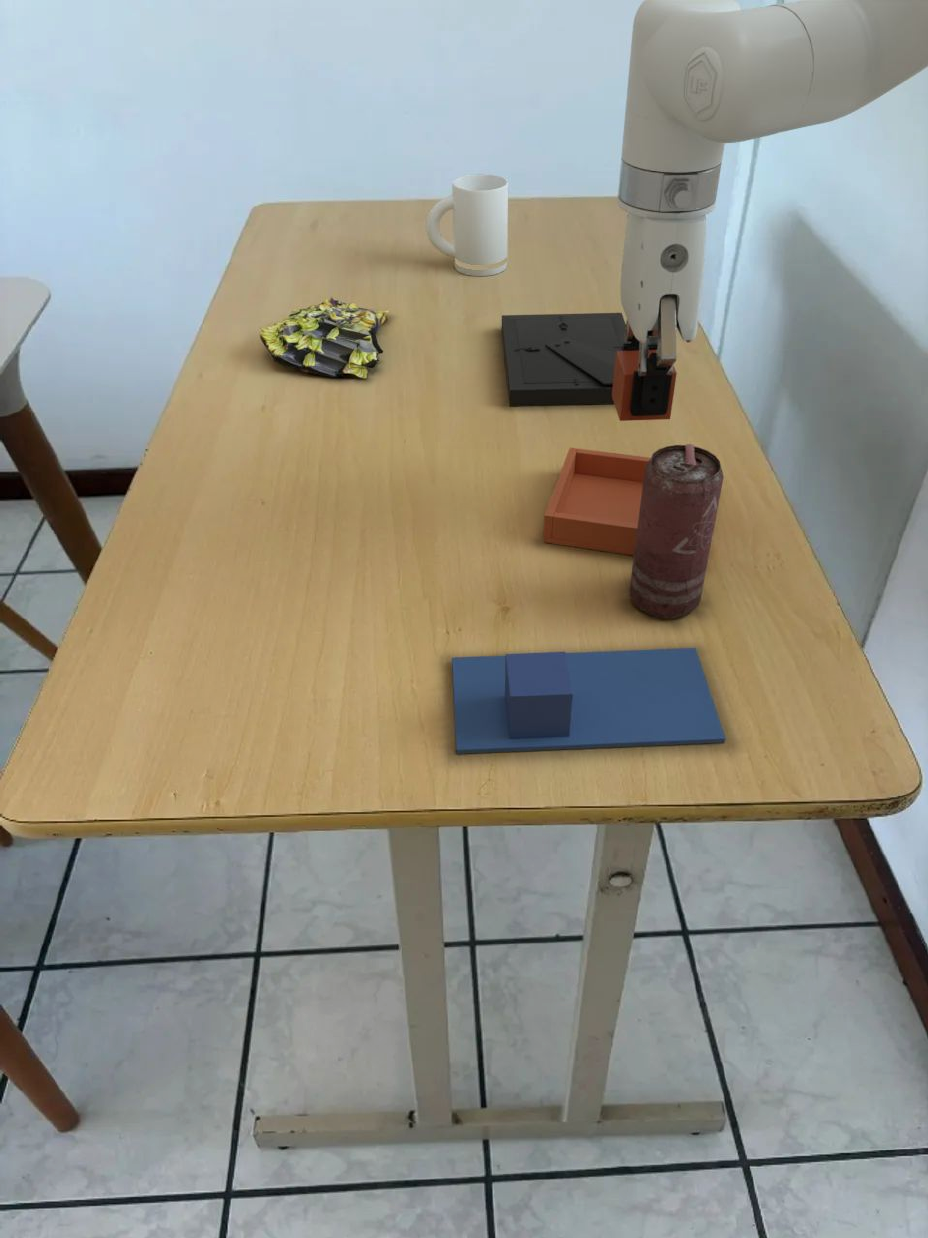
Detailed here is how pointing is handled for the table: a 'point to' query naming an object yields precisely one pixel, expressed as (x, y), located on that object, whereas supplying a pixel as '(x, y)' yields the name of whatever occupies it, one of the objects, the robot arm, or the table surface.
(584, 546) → the terracotta tray
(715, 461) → the can
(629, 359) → the terracotta block
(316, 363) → the banana patterned fabric
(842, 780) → the table surface
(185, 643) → the table surface
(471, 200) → the mug
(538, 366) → the picture frame
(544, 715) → the blue block
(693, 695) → the blue mat
